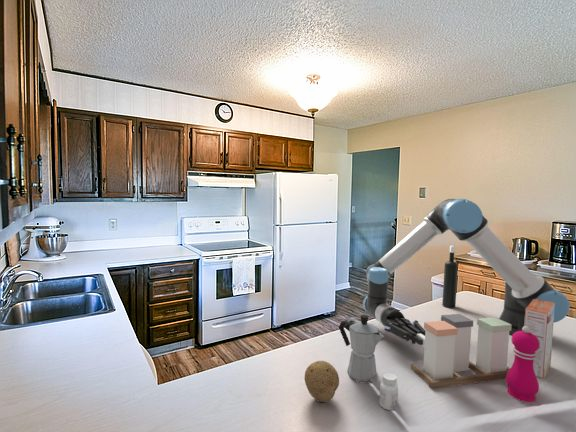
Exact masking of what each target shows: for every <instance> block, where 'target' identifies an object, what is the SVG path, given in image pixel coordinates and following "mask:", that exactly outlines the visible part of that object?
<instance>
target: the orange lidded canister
mask: <svg viewBox="0 0 576 432" xmlns="http://www.w3.org/2000/svg"><path fill="white" fill-rule="evenodd" d="M423 329H424V330H425V347H423V348H424V349H423V366H422V367H423V368H422V370H423V371H424V372H425V373H426V374H427V375H429V376H430V377H431V378H432V379H433V380H438V379H446V378H453V367H454V352H455V336H456V335H457V332H458V328H456V327H454V326H452V325H451V324H449V323H447V322H445V321H441V320H435V321H424V322H423Z"/></svg>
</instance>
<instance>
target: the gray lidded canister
mask: <svg viewBox="0 0 576 432" xmlns="http://www.w3.org/2000/svg"><path fill="white" fill-rule="evenodd" d="M440 318H441V320H440V321H445V322H447V323H449V324H451V325H452V326H454V327H456V328H458V332H457V335H456V336H455V352H454V367H453V371H455V372H456V373H457V372H458V373H459V372H463V371H464V372H465V371H469V370H470V369H469V361H470V352H471V341H472V340H471V338H472V337H471V336H472V327H474V320H473V319H471V318H469V317H467V316H465V315H463V314H462V313H453V314H452V313H451V314H441V317H440Z"/></svg>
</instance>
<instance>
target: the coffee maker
mask: <svg viewBox="0 0 576 432" xmlns="http://www.w3.org/2000/svg"><path fill="white" fill-rule="evenodd" d="M369 317H370V315H368V314H360V321H357V322H356V320H353V319H350V320H349V321H347V320H342V321H341V322H340V324H339V326H338V329H339V333H340V334H341V336H342V339H343V341H344V344H345V346H346V347H349V345H350V348H351V349H352V350H351V353H350V357H349V362H348V367H347V371H346V372H347V374H348V377H349V378H350V379H351V378H352V379H351V380H353V379H354V381H355V380H357V381H359V382H358V383H360V382H371V383H373V382H372V380H370V379H371V378H373V377H375V376H376V375H377V366H376V358H375V350H376V347H377V345H378V344H379V342H380V341H381V340H382V338H384V337H385V336H384V335H383V334H382V332H380V331H379V329H380V327H378V326H376V325H375V324H374V323H370V322H368V320H369ZM346 330H347V331H348V332H349V337H348V335H347V332H346ZM349 338H350V339H349ZM357 381H356V382H357Z"/></svg>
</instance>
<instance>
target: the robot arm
mask: <svg viewBox="0 0 576 432" xmlns="http://www.w3.org/2000/svg"><path fill="white" fill-rule="evenodd" d="M488 226H489V221H488V219H487V218H486V217H485V215H483V212H482V210H481V208H480V206H479V205H477V203H475V202H473V201H472V200H470V199H467V198H447V199H445V200H443V201H441V202H440V203H438V204H437V205H436V206H435V207H434V208H433V209H432V210H431V211H430V212H428V214H426V215H425V216H424V218H423V222H421V223H420V224H419V225H418V226H416V227H415V228H414V229H413V230H412V231H411V232H409V234H408V235H406V236H405V237H404V238H403V239H402V240H401V241H399V242H398V243H397V244H396V245H395V246H393V248H392V249H390V250H389V251H388V252H387V253H385V254H384V256H382V257H381V258H380V259H379V260H378V261H376V262H375V263H374V264H371V265H369V266H368V267H367V269H366V271H365V277H366V279H367V295H366V296H365V297H364V299H363V301H362V306H363V310H364V311H365V312H366V313H367V315H368V316H370V317H372V318H374V319H375V320H376V321H377V322H379V323H380V324H381V325H383V326H384V331H386V332H389V333H390V334H391V333H392V334H393V335H395V337H396V336H397V337H399V338H400V339H402V340H404V341H406V342H409V341H411V344H412V345H415V344H417V345H419V346H420V347H422V348H424V347H425V330H426V329H424V326H422V325H421V324H420V322H419V321H418V320H416V319H415V320H414V321H410V320H409V319H408V318H405V315H404V314H403V313H402V312H401V311H399V310H398V309H397V308H395V307H394V306H392V305H391V304H389V303H388V288H389V287H388V286H389V285H388V284H389V281H390V279H389V276H391V275H392V274H393V273H394V272H395V271H396V270H397V269H399V268H400V267H401V266H402V265H403V264H405V263H406V262H407V261H408V260H409V259H411V258H412V257H413V256H414V255H416V254H417V253H418V252H419V251H420V250H421V249H422V248H424V247H425V246H427V244H428V243H430V242H431V241H432V240H433V239H434V238H435V237H437V236H438V235H439V236H440V235H443V234H444V233H446V232H447V231H451V233H453V235H454V236H455V237H457V239H458V240H459V241H460V242H467V243H468V244H469V245H470V246H471V247H472V248H473V249H474V250H475V252H476V253H477V254H478V255H479V256H480V257H481V258H482V259H483V260H484V261H485V262H486V263H487V264H488V265H489V267H491V269H493V270H494V271H495V273H496V274H497V275H498V276H499V277H500V278H501V279H502V280H503V281H504V283H505V285H504V286H505V287H504V301H503V310H502V312H501V314H500V316H499V318H498V319H500V320H502V321H505V322H507V323H509V324H511V325H512V326H511V331H509V335H511V336H512V335H513V334H514V333H515V332H517V331H523V330H522V328H523V327H524V321H525V309H526V308H527V307H528V305H529V304H530V303H531V302H532V300H533V299H538V300H543V301H547V302H553V303H555V309H554V323H559V322H561V321H562V320H563V319H565V318H566V316H567V315H568V314H569V312H570V308H571V305H570V300H569V298H568V297H567V296H566V295H565V294H564V293H562V292H560V291H558V290H556V289H555V288H554V287H553V286H552V285H551V284H550V283H549V282H548V281H547V280H546V279H545V278H544V277H543V276H541V275H536V274H534V273H533V272H532V271H531V270H530V269H529V268H528V267H527V266H526V265H525V264H524V263H523V262H522V261H521V260H520V259H519V257H517V256H516V255H515V254H514V253H513V252H512V251H511V249H510V248H509V247H508V246H507V245H505V243H504V242H503V241H502V240H501V239H500V238H499V237H498V236H497V235H496V234H495V233H494V232H493V231H492V230H491V229H490V228H489V227H488ZM554 323H553V324H554Z"/></svg>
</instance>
